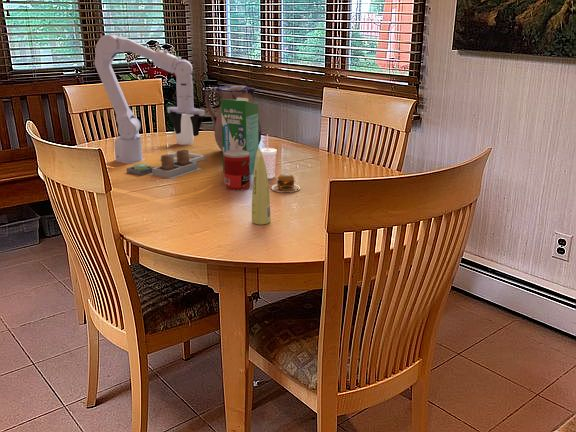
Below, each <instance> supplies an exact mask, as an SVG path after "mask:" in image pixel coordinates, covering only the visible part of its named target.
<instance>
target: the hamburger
mask: <svg viewBox="0 0 576 432" xmlns="http://www.w3.org/2000/svg"><path fill="white" fill-rule="evenodd" d="M276 182H277V183H276V184H273V185H272V186H271V188H270V189H271V190H272V191H275V192H278V193H282V190H290V193H295V192H297V191H299V190H300V189H301V187H300V185H298V184H295V182H296V180H295V177H294V175H293V174H291V173H286V172H285V173H281V174H280V175H279V176H278V177H277V180H276ZM294 185H296V186H298V187H299V189H298V190H297V189H296V190H294V188H295V187H294ZM276 186H277V187H276ZM274 187H275V188H278V190H279V191H278V190H276V189H275V188H274ZM292 189H293V190H292ZM294 191H295V192H294Z"/></svg>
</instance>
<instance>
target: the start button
mask: <svg viewBox="0 0 576 432" xmlns="http://www.w3.org/2000/svg"><path fill="white" fill-rule="evenodd" d="M133 166H134V169H136V170H140V171H141V170H144V169H147V168H148V166H149V165H148V164H147V163H134V164H133Z"/></svg>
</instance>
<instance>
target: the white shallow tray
mask: <svg viewBox="0 0 576 432" xmlns="http://www.w3.org/2000/svg"><path fill="white" fill-rule="evenodd" d="M170 154H171V155H173V156H174V162H176V161H177V151H176V152H172V153H171V152H170ZM206 158H207V157H206V155H204V154H198V153H193V152H192V153H191V152H189V161H192V162H197V163H199V162H201V161H206V160H207V159H206Z"/></svg>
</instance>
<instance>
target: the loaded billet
mask: <svg viewBox="0 0 576 432" xmlns="http://www.w3.org/2000/svg"><path fill="white" fill-rule="evenodd" d="M174 158H175V157H174V156H173V155H171V153H168V154H166V153H165V154H161V155H160V161H161V163H160V164H161V166H162V170H166V171H169V170H173V169H174Z"/></svg>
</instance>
